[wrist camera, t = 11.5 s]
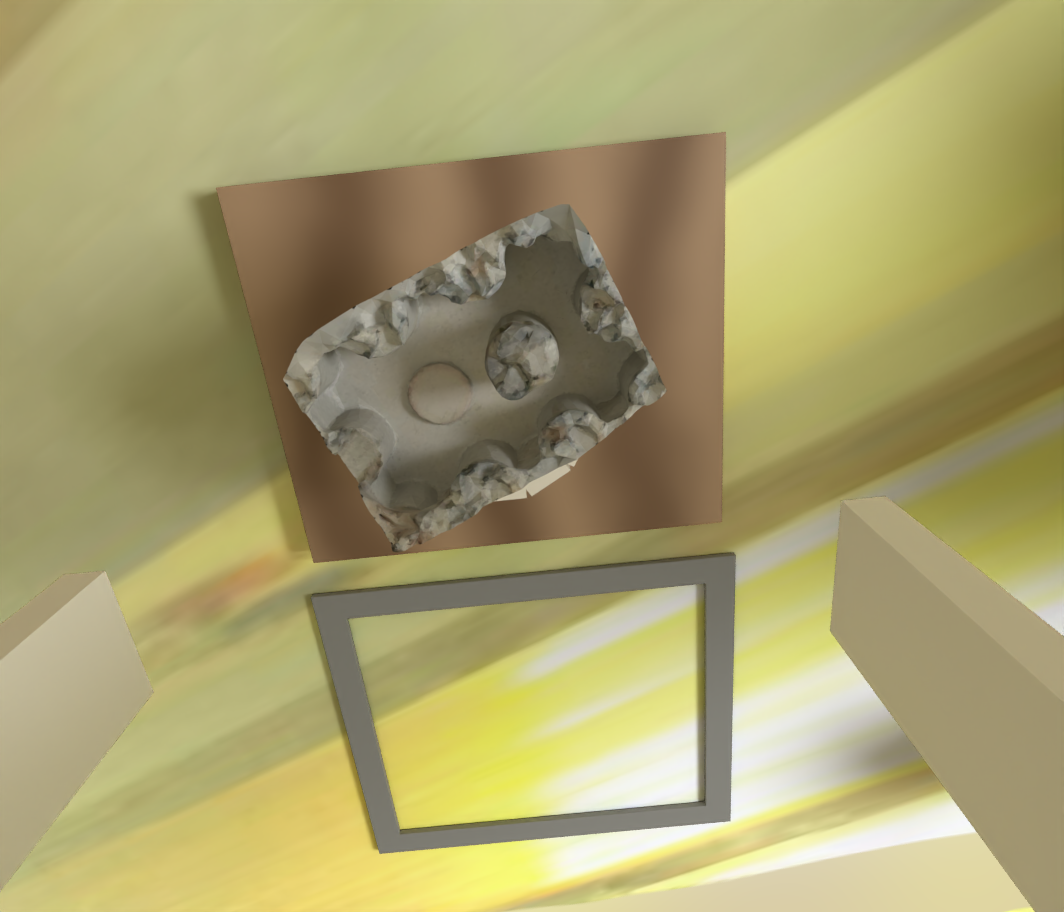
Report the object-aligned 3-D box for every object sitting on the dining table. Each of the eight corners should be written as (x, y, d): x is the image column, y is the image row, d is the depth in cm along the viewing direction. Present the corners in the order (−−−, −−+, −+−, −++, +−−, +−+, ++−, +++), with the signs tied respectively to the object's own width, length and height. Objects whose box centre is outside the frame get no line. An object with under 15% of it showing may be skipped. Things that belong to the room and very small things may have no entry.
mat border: (733, 552, 33) (735, 555, 32) (728, 816, 39) (730, 821, 39) (312, 594, 33) (310, 597, 33) (380, 849, 40) (379, 853, 39)
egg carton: (405, 512, 24) (384, 569, 20) (292, 339, 22) (244, 367, 18) (660, 390, 23) (688, 427, 19) (570, 188, 20) (582, 183, 16)
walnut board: (716, 135, 26) (725, 131, 24) (714, 511, 32) (721, 521, 31) (229, 188, 26) (215, 187, 25) (320, 550, 32) (313, 563, 31)
